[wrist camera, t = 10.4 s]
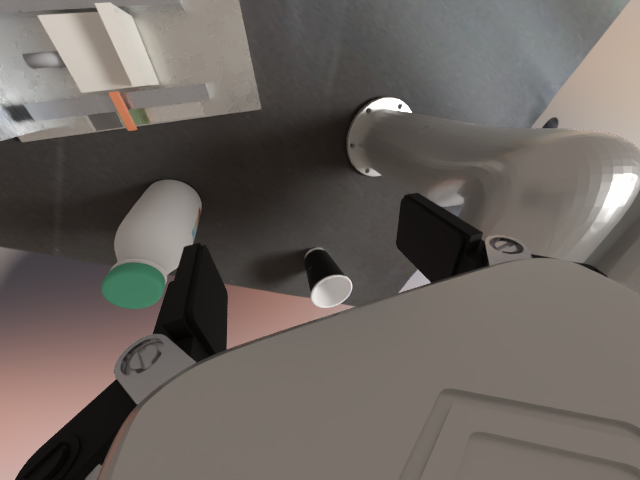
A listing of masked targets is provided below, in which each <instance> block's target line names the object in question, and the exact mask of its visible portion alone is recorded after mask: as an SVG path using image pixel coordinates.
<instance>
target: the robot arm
mask: <svg viewBox="0 0 640 480" xmlns="http://www.w3.org/2000/svg"><path fill="white" fill-rule="evenodd" d="M366 110H367V112H366ZM351 143H352V145H351ZM350 145H351V146H350ZM346 149H347V155H348V157H349V160H350V162H351V163H352V165H353V166H354V167H355V168H356V169H357V170H358V171H359V172H361V173H362V174H364V175H367V176H384V177H386V178H387V179H389V180H390V181H392V182H393V183H395V184H396V185H398V186H400V187H401V188H403V189H404V190H406V191H407V192H409V193H411V194H408V195H405V196H404V198H403V199H402V200H401V205H400V214H399V223H398V231H397V240H396V245H397V248H398V249H399V250H400V251H401V252H402V253H403V254H404V255H405V256H406V257H407V258H408V259H409V260H410V261H411V262H412V263H413V264H414V265H415V267H416V268H417V269H418V270H419V271H420V272H421V273H422V274H423V275H424V276H425V277H426V278H427V279H428V280H430V282H431V283H430V284H426V285H423V286H420V287H417V288H413V289H410V290H407V291H404V292H401V293H398V294H394V295H391V296H388V297H385V298H382V299H379V300H375V301H372V302H369V303H366V304H363V305H360V306H357V307H353V308H351V309H347V310H344V311H341V312H338V313H335V314H332V315H328V316H325V317H322V318H319V319H316V320H313V321H310V322H307V323H304V324H301V325H297V326H294V327H291V328H289V329H285V330H282V331H279V332H276V333H273V334H270V335H267V336H264V337H262V338H259V339H255V340H253V341H249V342H247V343H244V344H241V345H238V346H235V347H233V348H230V349H227V350H226V344H227V304H228V295H227V290H226V288H225V285H224V283H223V281H222V279H221V277H220V275H219V272H218V270H217V268H216V266H215V264H214V262H213V260H212V257H211V255H210V253H209V251H208V249H207V247H206V246H205V245H203V246H201V244H200V243H197V244H193V245H188V246H185V247H184V248H183V252H182V255H181V259H180V262H179V266H178V269H177V272H176V276H175V279H174V281H171V282H170V283H169V285H168V288H167V291H166V294H165V297H164V300H163V303H162V306H161V309H160V313H159V316H158V319H157V322H156V325H155V329H154V332H153V334H152V335H148V336H145V337H143V338H141V339H139V340H138V341H136V342H135V343H133V344H132V345H130V346H129V347H128V348H127V349H126V350H125V351H124V352H123V353H122V355H121V356H120V357H119V358H118V360H117V363H116V365H115V369H114V374H115V377H116V380H115V381H114V382H113V383H112V384H111V385H109V386H108V387H107V388H106V389H105V390H104V391H103V392H102V393H101V394H100V395H98V396H97V397H96V398H95V399H94V400H93V401H92V402H91V403H89V404H88V405H87V406H86V407H85V408H84V409H83V410H82V411H81V412H80V413H78V414H77V415H76V416H75V417H74V418H73V419H72V420H71V421H69V423H67V424H66V425H65V426H64V427H63V428H62V429H61V430H59V431H58V432H57V433H56V434H55V435H54V436H53V437H52V438H50V439H49V440H48V441H47V442H46V443H45V444H44V445H43V446H42V447H41V448H39V449H38V451H36V453H35V454H34V455H33V456H32V457H31V458H30V459H29V460H28V461H27V462H26V464H25V465H24V466H23V468H22V469H21V470H20V472H19V474H18V475H17V477H16V479H15V480H640V151H639V149H638V148H637V147H636V146H635V145H634V144H633V143H631V142H629V141H628V140H626V139H624V138H622V137H619V136H617V135H613V134H610V133H604V132H598V131H593V130H581V129H529V128H504V127H493V126H486V125H478V124H472V123H466V122H460V121H455V120H449V119H444V118H438V117H433V116H427V115H422V114H416V113H412V112H411V110H410V108H409V107H408V106H407V105H406V104H405V103H404V102H403V101H401V100H399V99H397V98H392V97H381V98H377V99H375V100H372V101H370V102H369V103H367V104H366V105H365V106H363V107H362V108H361V109H360V110H359V111H358V113H357V114H356V115H355V117H354V119H353V120H352V122H351V124H350V127H349V130H348V133H347V139H346ZM460 204H463V207H462V210H461V212H460V215H459V217H457V216H455V215H453V214H452V213H450V212H449V211H447V210H445V209H444V208H442V207H447V206H455V205H460ZM440 206H441V207H440Z"/></svg>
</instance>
